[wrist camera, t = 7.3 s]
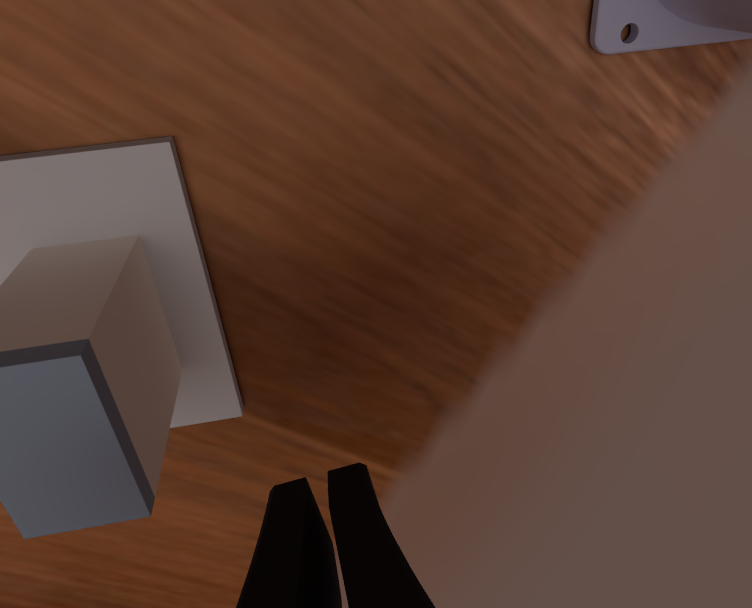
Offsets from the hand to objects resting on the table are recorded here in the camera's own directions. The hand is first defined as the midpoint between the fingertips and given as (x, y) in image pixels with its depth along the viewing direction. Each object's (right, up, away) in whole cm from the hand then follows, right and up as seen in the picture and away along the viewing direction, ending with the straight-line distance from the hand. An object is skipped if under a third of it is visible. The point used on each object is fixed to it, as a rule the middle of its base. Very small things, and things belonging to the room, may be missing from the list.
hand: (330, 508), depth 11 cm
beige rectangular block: (-7, +4, +7) cm, 11 cm away
